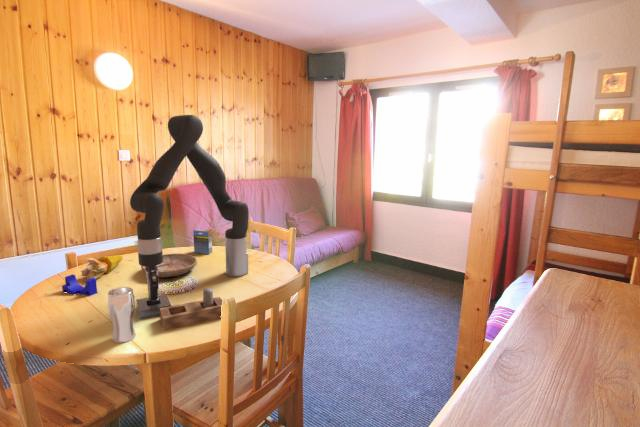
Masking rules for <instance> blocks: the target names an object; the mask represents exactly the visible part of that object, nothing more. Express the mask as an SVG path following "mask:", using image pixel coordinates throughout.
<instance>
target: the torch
mask: <svg viewBox="0 0 640 427" xmlns="http://www.w3.org/2000/svg"><path fill="white" fill-rule="evenodd" d="M122 260H123V255H121V254H115V255H108V256H102V257H100V258H99V259H98V258H97V259H96V258H94V257H89V258H86V261H87V262H89V263H88V264H87V265H86V266H85V268H84V269H82V270H80V273H81V275H80V276H81V277H87V278H86V280H89V279H92V278H95V279H96V280H98V279H99V278H100V277H102V275H104V273H106V274H109V273H110V272H111V271H112V270H113V269H114V268H115V267H116V266H117V265H119V264H120V263H121V262H122ZM106 274H105V275H106Z"/></svg>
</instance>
